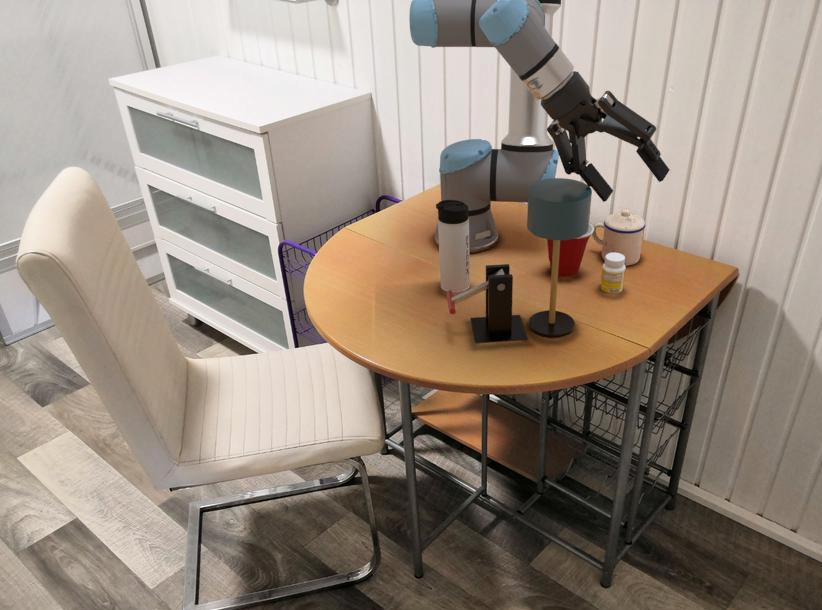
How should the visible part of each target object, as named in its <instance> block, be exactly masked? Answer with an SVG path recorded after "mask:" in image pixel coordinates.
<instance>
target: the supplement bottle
mask: <svg viewBox="0 0 822 610" xmlns="http://www.w3.org/2000/svg"><path fill="white" fill-rule="evenodd" d="M624 263H625V256H624V255H622V254H620V253H608V254H607V255H606V256H605V260H604V263H603V265H602V269H601V280H600V289H601V291H603V292H605V293H607V294H619V293H621V292H623V291H624V286H625V278H626V277H625V276H626V269H627V268H626V267H627V266H625V265H624Z"/></svg>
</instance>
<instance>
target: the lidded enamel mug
mask: <svg viewBox="0 0 822 610" xmlns="http://www.w3.org/2000/svg"><path fill="white" fill-rule="evenodd" d="M593 227H594V231H593V233H592V235H591V237H592V239H593V240H594V241H595V242H596V243H597V244H599V245H601V246H602V247H601V258H602V260H603V261H605V256H606V255H607V254H608V253H620V254H622V255H624V256H625V263H624V265H625V267H627V266H632V265H635V264H637V263H638V262H639V261H640V259H641V253H642V244H643V239H644V238H643V237H644V229H645V228H646V222H645V219H644V218H642V217H641V216H640V215H638V214H634V213H631V209H628V208H624V209H622V210H621V212H616V213H611V214H609V215H608V216H606V217H605V218H604V221H603V222H597V223H595V224H593ZM597 228H602V229H603V238H602V239H601V238H599V236H598V235H597Z"/></svg>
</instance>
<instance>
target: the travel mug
mask: <svg viewBox="0 0 822 610" xmlns="http://www.w3.org/2000/svg"><path fill="white" fill-rule="evenodd" d="M435 208H436V209H437V223H438V232H439V246H438V251H439V253H438V255H439V279H440V282H439V283H440V288H441V290H442V291H444V292H445V293H447V291H449V290H451V291H452V292H453V294H461V293H463V292H465V291H467V290H469V289H470V286H471V277H470V276H471V274H470V273H471V272H470V271H471V270H470V268H471V266H470V253H469V215H468V213H469V211H468V206H467V205H466V204H464V203H463V202H461V201H457V200H443V201H441V200H440V201H439V202H437V203H436V204H435Z"/></svg>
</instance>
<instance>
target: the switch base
mask: <svg viewBox="0 0 822 610" xmlns="http://www.w3.org/2000/svg"><path fill="white" fill-rule="evenodd" d="M510 267H511V266H510V264H509V263H506V264H505V263H504V264H503V263H502V264H486V265H485V282H486V281H488V289H486V290H485V316H481V317H480V316H479V317H478V316H477V317H470V323H471V330H472V334H473V338H474V339H473V340H474V343H475V344H485V343H486V344H487V343H502V342H516V341H528V337H527V333H526V330H525V327H524V324H523V320H522V316H521V314H513V289H514V288H513V287H514V286H513V285H514V276H513V274H512V273H510V271H511V270H510V269H511V268H510ZM500 269H503V271H504V273H505V275H491V276H489V275H490V274H492V273H494V272H496V271H498V270H500Z"/></svg>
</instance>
